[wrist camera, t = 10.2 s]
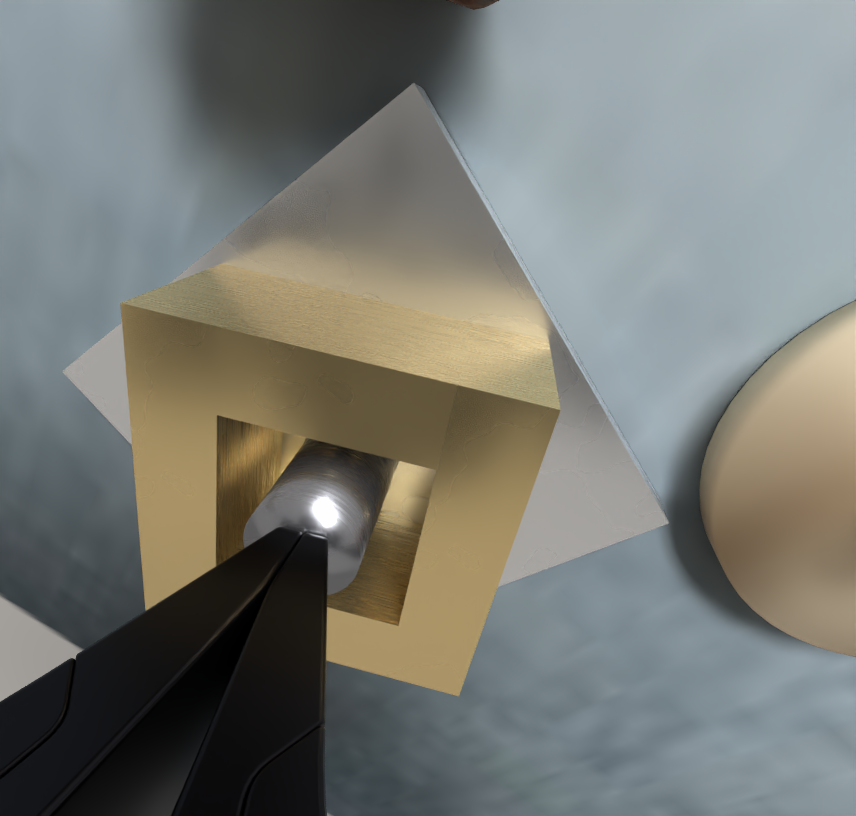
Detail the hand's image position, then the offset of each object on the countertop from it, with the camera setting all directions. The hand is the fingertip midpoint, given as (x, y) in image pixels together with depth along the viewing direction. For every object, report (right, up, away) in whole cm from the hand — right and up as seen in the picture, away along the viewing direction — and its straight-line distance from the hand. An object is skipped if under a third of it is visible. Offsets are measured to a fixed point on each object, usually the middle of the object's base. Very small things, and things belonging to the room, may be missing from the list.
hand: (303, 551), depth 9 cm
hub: (+1, +2, +4) cm, 4 cm away
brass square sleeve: (+1, +2, +3) cm, 4 cm away
